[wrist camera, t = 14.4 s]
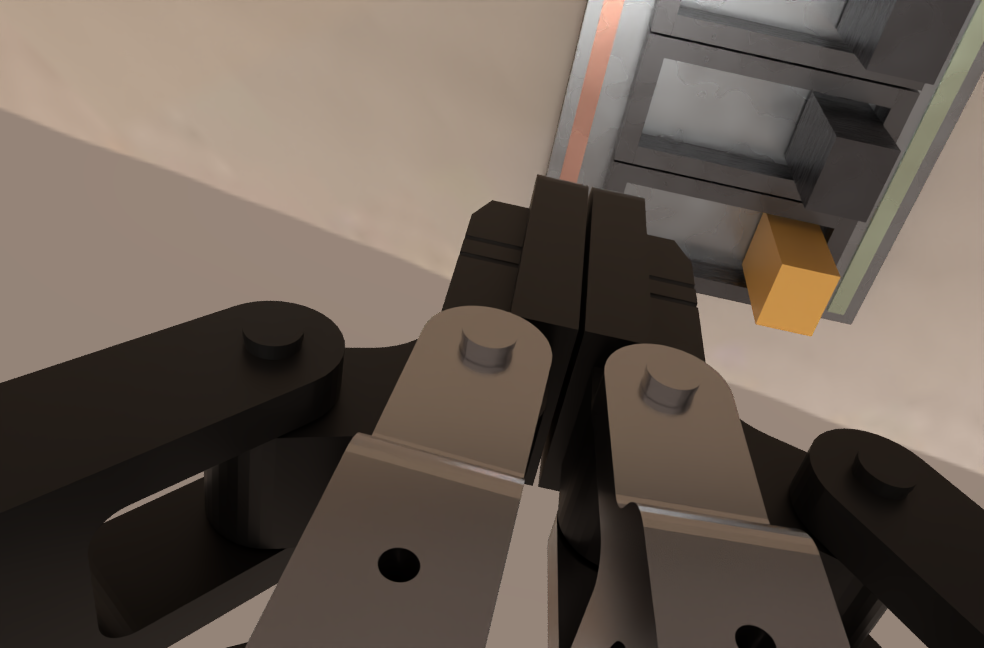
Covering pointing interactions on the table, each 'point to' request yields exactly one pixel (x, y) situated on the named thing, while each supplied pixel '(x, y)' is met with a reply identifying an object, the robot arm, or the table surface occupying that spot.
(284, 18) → the table surface
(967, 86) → the panel
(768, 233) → the block
